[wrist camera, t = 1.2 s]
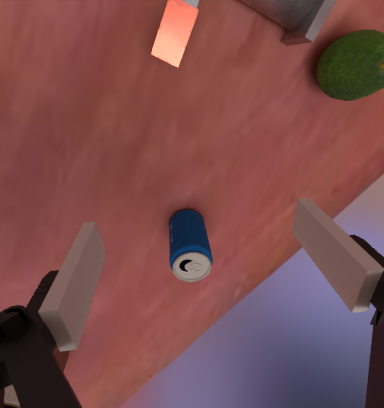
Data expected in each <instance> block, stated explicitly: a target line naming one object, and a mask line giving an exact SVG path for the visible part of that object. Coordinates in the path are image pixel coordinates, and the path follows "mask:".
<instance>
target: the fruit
mask: <svg viewBox="0 0 384 408" xmlns="http://www.w3.org/2000/svg"><path fill="white" fill-rule="evenodd" d="M316 75H317V82H318V84H319V86H320V88H321V89H322V90H323V91H324V93H326V94H327V95H328V96H329V97H331V98H335V99H339V100H344V101H351V100H356V99H359V98H362V97H366V96H368V95H370V94H372V93H375V92H376V91H378V90H380V89H382V88H384V33H382V32H379V31H376V30H361V31H355V32H352V33H348V34H346V35H344V36H342V37H341V38H339V39H337V40H336V41H334V42H333V43H332V44H331V45H330V46H329V47H327V48H326V50H325V51H324V52H323V54H322V55H321V57H320V59H319V61H318V64H317V69H316Z"/></svg>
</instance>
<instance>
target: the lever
mask: <svg viewBox="0 0 384 408" xmlns="http://www.w3.org/2000/svg"><path fill="white" fill-rule="evenodd" d="M198 3H199V0H168V2H167V5H166V8H165V11H164V15H163V18H162V21H161V24H160V27H159V30H158V34H157V37H156V40H155V43H154V46H153V49H152V53H151V54H152V55H154V56H156V57H158V58H160V59H162V60H164V61H166V62H168V63H170V64H172V65H174V66H176V67H178V66H179V63H180V61H181V58H182V55H183V52H184V50H185V47H186V44H187V41H188V39H189V36H190V33H191V30H192V28H193V25H194V22H195V20H196V17H197V14H198V11H199V10H198V9H196V8H197V5H198Z"/></svg>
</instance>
